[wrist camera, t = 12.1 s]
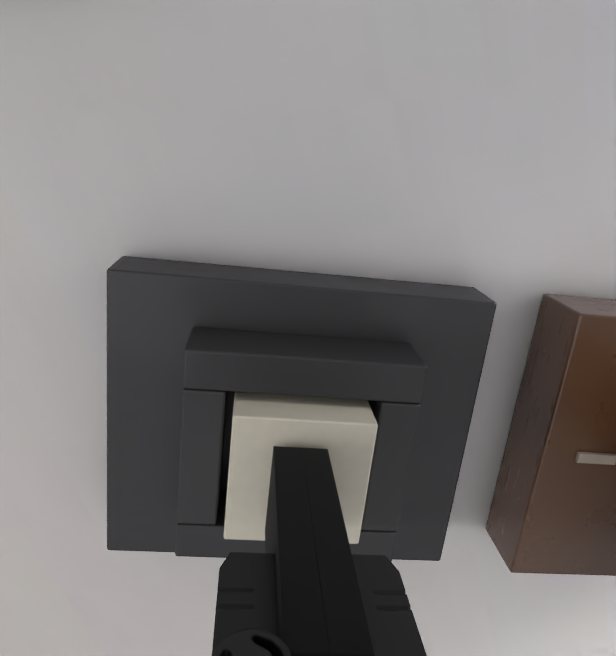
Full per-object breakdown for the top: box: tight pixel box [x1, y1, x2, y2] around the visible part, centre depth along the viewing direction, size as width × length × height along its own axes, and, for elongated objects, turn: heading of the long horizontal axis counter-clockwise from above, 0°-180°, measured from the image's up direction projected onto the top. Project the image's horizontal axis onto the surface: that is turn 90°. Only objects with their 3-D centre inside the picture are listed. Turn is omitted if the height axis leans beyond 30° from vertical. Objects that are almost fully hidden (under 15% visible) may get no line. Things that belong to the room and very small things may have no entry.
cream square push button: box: [224, 392, 378, 544], centre depth 17 cm, size 4×4×3 cm
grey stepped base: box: [107, 256, 496, 562], centre depth 19 cm, size 12×10×4 cm
